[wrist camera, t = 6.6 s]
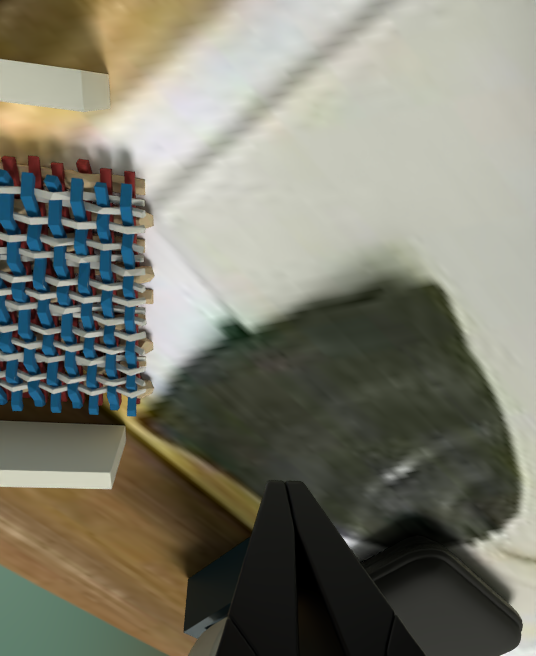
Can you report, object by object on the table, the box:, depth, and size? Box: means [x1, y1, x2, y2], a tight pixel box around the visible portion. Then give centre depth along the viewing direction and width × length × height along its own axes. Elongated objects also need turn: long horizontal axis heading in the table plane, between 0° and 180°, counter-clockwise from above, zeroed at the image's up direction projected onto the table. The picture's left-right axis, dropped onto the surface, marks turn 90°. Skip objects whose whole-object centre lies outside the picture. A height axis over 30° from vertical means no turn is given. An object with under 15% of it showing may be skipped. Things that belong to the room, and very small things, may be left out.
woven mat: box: [0, 156, 155, 416], centre depth 17 cm, size 10×11×2 cm
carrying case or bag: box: [361, 536, 523, 656], centre depth 30 cm, size 11×3×15 cm
